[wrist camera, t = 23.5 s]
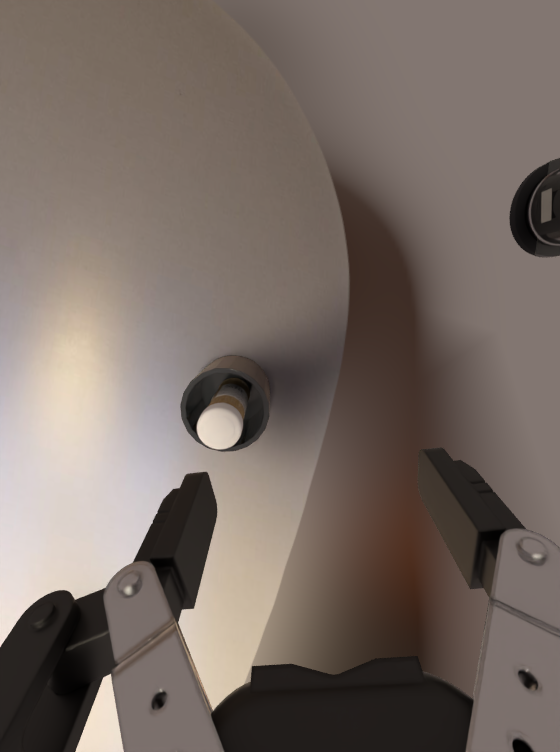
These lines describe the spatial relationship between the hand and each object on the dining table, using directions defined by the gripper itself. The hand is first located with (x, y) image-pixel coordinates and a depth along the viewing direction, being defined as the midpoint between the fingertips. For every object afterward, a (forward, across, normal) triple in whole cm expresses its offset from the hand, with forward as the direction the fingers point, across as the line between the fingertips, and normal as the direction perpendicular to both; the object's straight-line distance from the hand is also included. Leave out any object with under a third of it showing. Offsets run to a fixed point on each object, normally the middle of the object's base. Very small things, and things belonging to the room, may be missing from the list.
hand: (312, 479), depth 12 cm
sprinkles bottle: (+30, +10, +10) cm, 33 cm away
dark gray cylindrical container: (+31, +10, +10) cm, 34 cm away
